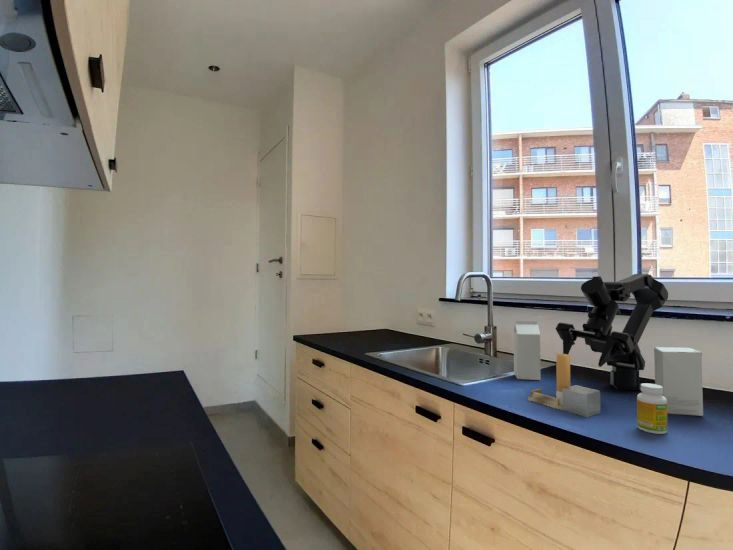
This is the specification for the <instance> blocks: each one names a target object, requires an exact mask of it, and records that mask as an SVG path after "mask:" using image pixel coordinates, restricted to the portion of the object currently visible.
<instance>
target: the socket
mask: <svg viewBox="0 0 733 550" xmlns="http://www.w3.org/2000/svg"><path fill="white" fill-rule="evenodd" d="M563 410H564V411H563ZM563 410H562V411H563V412H566V411H567V413H570V412H571V413H570V414H573V413H574V414H573V415H576V414H578V415H577V416H580V415H581V416H580V417H583V416H584V417H583V418H586V417H587V418H590V417H592V416H595V415H598V414H601V390H598V389H594V388H591V387H585V386H582V385H577V384H576V385H570V387H567V388H563ZM589 416H590V417H589Z"/></svg>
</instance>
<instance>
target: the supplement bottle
mask: <svg viewBox="0 0 733 550" xmlns="http://www.w3.org/2000/svg"><path fill="white" fill-rule="evenodd" d="M640 389H641V390H640V391H641V392H640V393H638V394H637V396H636V422H637V423H636V424H637V425H636V426H637V428H638V429H639V430H641V431H642V430H643V432H645V433H650V434H655V435H663V434H664V435H665V434H667V432H668V414H667V399H666V398H665V397H664V396H662V394H663V387H662V386H660V385H656V384H655V383H648V382H647V383H646V382H645V383H640Z"/></svg>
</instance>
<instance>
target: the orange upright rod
mask: <svg viewBox="0 0 733 550" xmlns="http://www.w3.org/2000/svg"><path fill="white" fill-rule="evenodd" d="M555 360H556V363H555V364H556V367H555V368H556V371H555V372H556V373H555V374H556V390H555V394H556V397H555V398H558V399H559V404H561V405H563V388H567V387H571V354H563V353H556V359H555Z"/></svg>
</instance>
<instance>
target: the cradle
mask: <svg viewBox="0 0 733 550" xmlns="http://www.w3.org/2000/svg"><path fill="white" fill-rule="evenodd" d="M529 393H530V394H529V396H528V397H527V401H529V402H532V401H533V402H532V403H537V404H540V405H542V404H543V406H546V405H547V406H546V407H549V406H550V408H552V409H556V408H557V410H559V409H561V410H560V411H563V405H561V404H559V399H558V398H556V397H554V396H551V395H548V394H547V395H546V394H543V390H542V388H537V389H532V390H530V391H529Z"/></svg>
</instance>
